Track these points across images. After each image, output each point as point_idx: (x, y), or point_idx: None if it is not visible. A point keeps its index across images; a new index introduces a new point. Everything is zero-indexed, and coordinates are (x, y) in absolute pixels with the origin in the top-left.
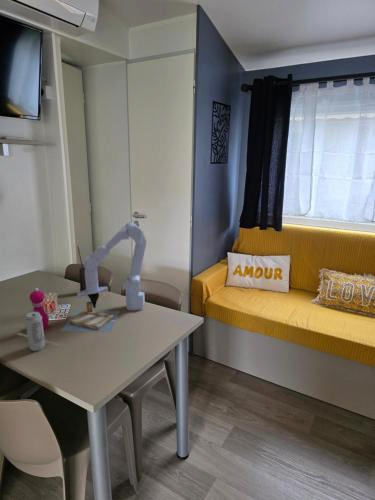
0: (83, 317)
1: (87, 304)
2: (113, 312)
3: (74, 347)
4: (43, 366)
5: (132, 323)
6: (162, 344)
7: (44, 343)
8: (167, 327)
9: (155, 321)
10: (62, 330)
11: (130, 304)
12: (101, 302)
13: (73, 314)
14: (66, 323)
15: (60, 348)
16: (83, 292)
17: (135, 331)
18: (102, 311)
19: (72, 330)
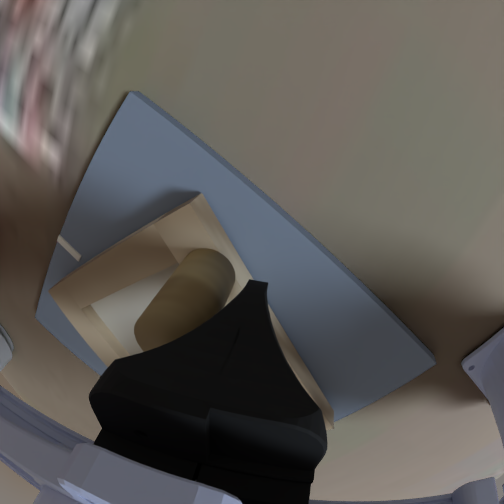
0: (139, 304)
1: (147, 341)
2: (397, 352)
3: (96, 417)
4: (37, 405)
5: (369, 454)
6: None
7: (7, 361)
8: (414, 492)
9: (434, 468)
10: (40, 318)
11: (494, 415)
12: (466, 45)
13: (95, 157)
14: (49, 265)
15: (57, 389)
16: (16, 471)
17: (326, 481)
18: (347, 282)
19: (79, 353)
